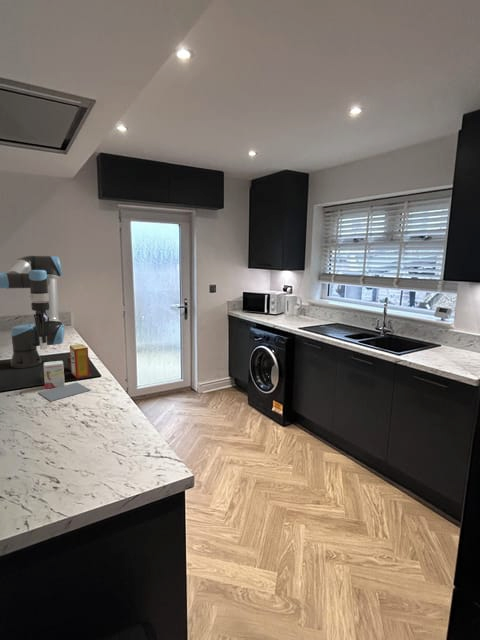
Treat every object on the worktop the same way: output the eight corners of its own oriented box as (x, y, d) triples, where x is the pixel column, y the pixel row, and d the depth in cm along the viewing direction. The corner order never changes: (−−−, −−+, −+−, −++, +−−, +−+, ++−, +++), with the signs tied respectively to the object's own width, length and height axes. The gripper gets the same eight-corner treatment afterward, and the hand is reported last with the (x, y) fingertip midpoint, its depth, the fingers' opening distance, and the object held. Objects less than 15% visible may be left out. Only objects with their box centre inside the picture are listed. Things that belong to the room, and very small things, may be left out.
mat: (38, 393, 164) (38, 392, 163) (76, 383, 177) (76, 382, 177) (51, 401, 155) (50, 400, 155) (90, 390, 168) (90, 389, 168)
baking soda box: (89, 376, 188) (87, 346, 185) (76, 378, 184) (74, 348, 181) (84, 371, 195) (82, 343, 192) (71, 373, 191) (69, 344, 188)
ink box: (45, 389, 169) (43, 365, 166) (44, 385, 173) (42, 362, 171) (65, 386, 173) (63, 363, 171) (64, 382, 177) (62, 360, 175)
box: (77, 371, 195) (76, 358, 194) (68, 370, 196) (67, 357, 195) (84, 367, 201) (83, 355, 200) (75, 366, 202) (74, 354, 201)
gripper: (26, 301, 173) (30, 347, 177) (37, 303, 165) (41, 352, 169) (42, 300, 179) (46, 345, 183) (53, 302, 170) (57, 349, 174)
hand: (43, 348), depth 176 cm, fingers closed
